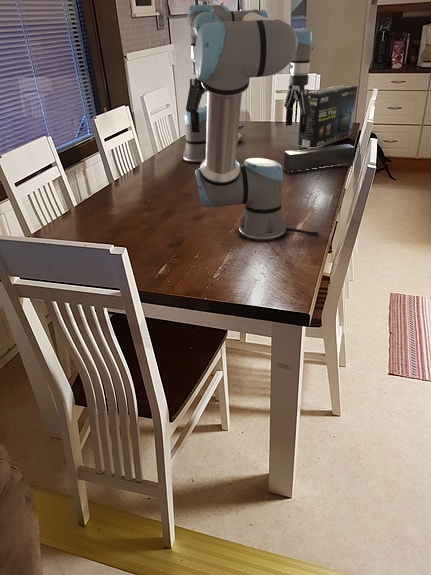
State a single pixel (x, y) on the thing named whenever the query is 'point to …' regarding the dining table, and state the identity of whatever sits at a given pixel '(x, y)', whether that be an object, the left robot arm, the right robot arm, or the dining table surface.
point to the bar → (318, 158)
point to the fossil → (240, 134)
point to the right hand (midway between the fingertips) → (206, 128)
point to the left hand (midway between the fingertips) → (295, 128)
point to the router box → (329, 115)
